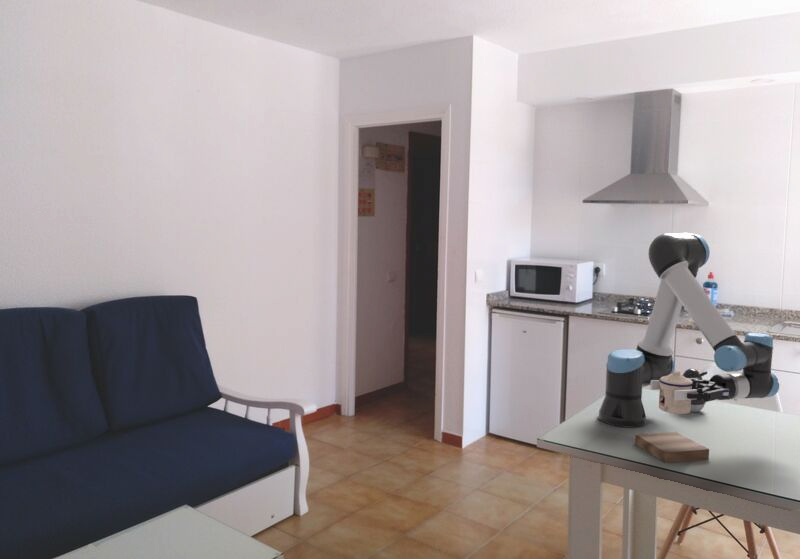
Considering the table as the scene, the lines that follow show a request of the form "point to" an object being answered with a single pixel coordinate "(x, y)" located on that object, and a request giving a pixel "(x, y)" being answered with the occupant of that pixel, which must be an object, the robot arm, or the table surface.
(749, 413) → the table surface
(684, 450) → the walnut stand
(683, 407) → the teacup with lid
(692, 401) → the pump dispenser
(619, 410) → the robot arm
